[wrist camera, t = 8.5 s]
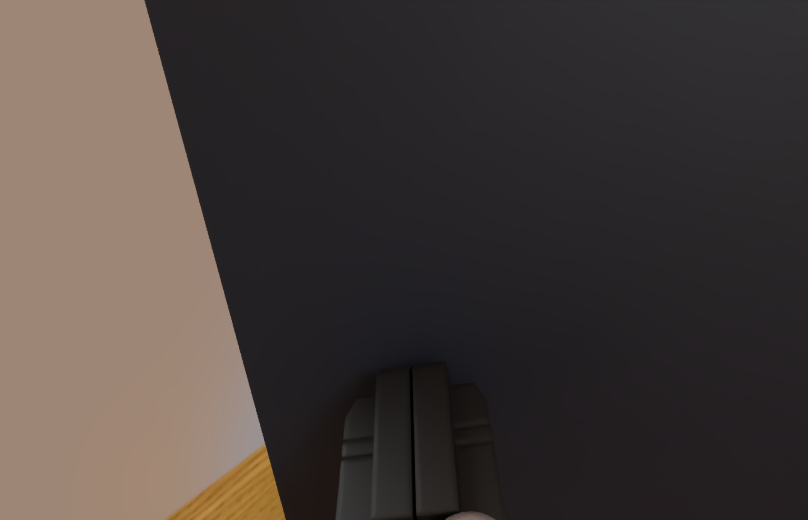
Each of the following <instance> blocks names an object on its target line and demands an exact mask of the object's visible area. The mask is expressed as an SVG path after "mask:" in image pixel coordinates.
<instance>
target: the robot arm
mask: <svg viewBox="0 0 808 520" xmlns="http://www.w3.org/2000/svg"><path fill="white" fill-rule="evenodd" d="M343 443H344V444H343V446H342V456H341V458H342V462H341V467H340V477H339V488H338V498H337V509H336V519H335V520H509V518H508V516H507V514H506V512H505V508H504V503H503V497H502V491H501V485H500V479H499V472H498V466H497V460H496V454H495V448H494V442H493V436H492V430H491V424H490V417H489V411H488V405H487V399H486V398H485V397H484V395H483V394H482V393H481V391H480V390H479V389H478V387H477V386H476V385H475V383H474V382H472V383H465V384H458V385H451V382H450V377H449V372H448V367H447V363H446V361H443V362H436V363H429V364H422V365H415V366H413V369H412V368H411V366H409V367H402V368H395V369H388V370H381V371H378V372H377V376H376V396H373V397H365V398H358V399H356V400H355V402H354V404H353V406H352V407H351V409H350V411H349V413H348V414H347V416H346V418H345V425H344V435H343Z"/></svg>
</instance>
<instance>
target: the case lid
mask: <svg viewBox="0 0 808 520" xmlns="http://www.w3.org/2000/svg"><path fill="white" fill-rule="evenodd" d="M145 4H146V7H147V11H148V15H149V18H150V22H151V26H152V29H153V33H154V37H155V40H156V44H157V48H158V51H159V55H160V59H161V62H162V66H163V70H164V73H165V77H166V81H167V84H168V88H169V91H170V95H171V99H172V103H173V106H174V110H175V114H176V118H177V121H178V125H179V129H180V132H181V136H182V140H183V143H184V147H185V151H186V154H187V158H188V162H189V165H190V169H191V172H192V176H193V180H194V184H195V187H196V191H197V195H198V198H199V202H200V206H201V209H202V213H203V217H204V220H205V224H206V228H207V231H208V235H209V239H210V242H211V246H212V250H213V253H214V257H215V261H216V264H217V268H218V272H219V275H220V279H221V283H222V286H223V290H224V294H225V297H226V301H227V305H228V309H229V312H230V316H231V319H232V323H233V327H234V331H235V334H236V338H237V341H238V345H239V349H240V353H241V356H242V360H243V364H244V367H245V371H246V375H247V378H248V382H249V386H250V389H251V393H252V396H253V400H254V404H255V408H256V411H257V415H258V419H259V422H260V426H261V430H262V433H263V437H264V441H265V444H266V448H267V452H268V455H269V459H270V463H271V466H272V470H273V474H274V477H275V481H276V485H277V489H278V492H279V496H280V500H281V503H282V507H283V511H284V514H285V518H286V520H335V519H336V509H337V498H338V488H339V477H340V467H341V462H342V458H341V456H342V446H343V444H344V443H343V435H344V425H345V418H346V416H347V414H348V413H349V411H350V409H351V407H352V406H353V404H354V402H355V400H356V399H358V398H365V397H373V396H376V376H377V372H378V371H381V370H388V369H395V368H402V367H409V366H411V368H412V369H413V366H415V365H422V364H429V363H436V362H443V361H446V363H447V367H448V372H449V377H450V382H451V385H458V384H465V383H472V382H474V383H475V385H476V386H477V387H478V389H479V390H480V391H481V393H482V394H483V395H484V397H485V398H486V399H487V405H488V411H489V417H490V424H491V430H492V436H493V442H494V448H495V454H496V460H497V466H498V472H499V479H500V485H501V491H502V497H503V503H504V508H505V512H506V514H507V516H508V518H509V520H808V0H145Z"/></svg>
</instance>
